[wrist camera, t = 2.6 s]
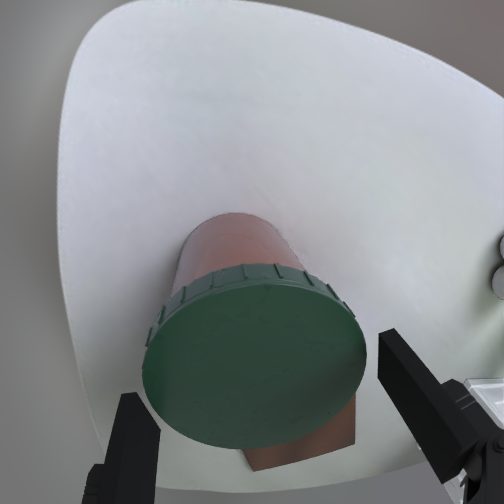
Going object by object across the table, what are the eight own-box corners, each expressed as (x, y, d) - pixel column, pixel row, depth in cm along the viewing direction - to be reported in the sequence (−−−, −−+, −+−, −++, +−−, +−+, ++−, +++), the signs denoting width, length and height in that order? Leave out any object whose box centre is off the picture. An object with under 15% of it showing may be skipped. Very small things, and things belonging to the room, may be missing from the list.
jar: (197, 326, 26) (194, 448, 15) (164, 229, 23) (123, 320, 12) (298, 301, 27) (353, 410, 15) (279, 200, 24) (345, 265, 12)
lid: (188, 436, 16) (188, 461, 14) (113, 293, 13) (101, 316, 11) (354, 396, 17) (366, 419, 15) (344, 236, 13) (363, 251, 11)
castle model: (466, 379, 36) (521, 445, 22) (505, 378, 39) (552, 428, 25) (415, 443, 40) (453, 509, 26) (462, 435, 43) (497, 487, 29)
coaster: (252, 468, 35) (253, 471, 35) (223, 407, 30) (223, 411, 30) (353, 440, 36) (355, 444, 35) (353, 372, 31) (355, 376, 30)
